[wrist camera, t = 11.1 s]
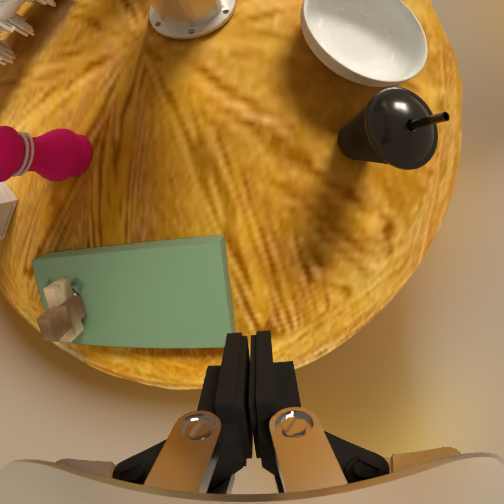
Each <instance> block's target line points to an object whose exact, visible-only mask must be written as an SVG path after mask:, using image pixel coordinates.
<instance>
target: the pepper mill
mask: <svg viewBox="0 0 504 504" xmlns="http://www.w3.org/2000/svg"><path fill="white" fill-rule="evenodd" d="M91 158H92V147H91V144H90V142H89V140H88V139H87V138H86V137H85V136H83V135H78V134H75V133H74V132H73V131H71V130H68V129H55V130H52V131H49V132H47V133H45V134H43V135H41V136H39V137H31V136H30V135H29V134H28V133H26V132H17V131H16V130H15V129H13V128H12V127H9V126H0V183H1V182H4V181H6V180H8V179H9V178H10V177H11V176H12V177H13V176H21V175H23V174H25V173H26V172H27V171H35V172H37V173H38V174H39V175H41V176H42V177H43V178H45V179H48V180H50V181H62V180H65V179H67V178H69V177H75V176H79V175H81V174H82V173H84V172H85V170H86V169H87V168H88V166H89V164H90V162H91Z"/></svg>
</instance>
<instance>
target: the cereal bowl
mask: <svg viewBox="0 0 504 504" xmlns="http://www.w3.org/2000/svg"><path fill="white" fill-rule="evenodd" d="M300 19H301V28H302V32H303V35H304V38H305V40H306V42H307V44H308V45H309V47H310V49H311V50H312V51H313V53H314V54H315V56H317V58H318V59H319V60H320V61H321V62H322V63H323V64H324V65H326V66H327V67H328V68H329V69H330V70H332V71H333V72H335V73H336V74H338V75H340V76H341V77H343V78H346V79H347V80H350V81H352V82H355V83H358V84H362V85H366V86H370V87H389V86H394V85H398V84H401V83H403V82H406V81H408V80H410V79H411V78H413V77H415V76H416V75H417V74H418V73H419V72H420V71H421V69H422V68H423V66H424V64H425V62H426V58H427V42H426V37H425V34H424V31H423V29H422V27H421V25H420V23H419V21H418V20H417V18H416V17H415V15H414V14H413V13H412V11H411V10H410V9H409V8H408V7H407V6H406V5H405V4H404V3H403V2H402V1H401V0H304V1H303V4H302V8H301V17H300Z"/></svg>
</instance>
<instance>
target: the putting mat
mask: <svg viewBox="0 0 504 504" xmlns="http://www.w3.org/2000/svg"><path fill="white" fill-rule="evenodd" d="M32 265H33V269H34V273H35V277H36V280H37V284H38V288H39V291H40V295H41V298H42V301H43V305H44V308H45V311H48V310H49V306H48V303H47V300H46V297H45V293H44V290H43V289H44V288H45V287H47V286H49V285H50V284H52V283H53V282H55V281H57V280H58V279H68V278H69V281H70V285H71V287H72V288H73V289H74V290H75V291H76V292H77V293H79V294H80V295H81V298H82V302H83V305H84V309H85V312H86V315H85V316H84V317H83V318H82V319H81V322H82V325H83V328H84V330H83V331H82V332H81V333H80V334H79V335H78V336H77V337H76V338H75V339H74V340H73V341H72V342H71V343H76V344H88V345H101V346H117V347H139V348H217V347H225V341H226V336H227V333H235V332H236V328H235V320H234V313H233V305H232V297H231V288H230V280H229V271H228V263H227V254H226V245H225V236H224V235H213V236H202V237H191V238H180V239H170V240H160V241H150V242H140V243H130V244H121V245H111V246H102V247H93V248H84V249H76V250H67V251H59V252H50V253H46V254H44V255H42V256H40V257H38V258H36V259H33V260H32ZM57 342H61V341H60V339H59V340H58V341H57ZM66 343H69V342H66Z"/></svg>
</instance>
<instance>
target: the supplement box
mask: <svg viewBox="0 0 504 504" xmlns="http://www.w3.org/2000/svg"><path fill="white" fill-rule="evenodd" d="M17 202H18V199H17V197H16V196H15V195H14V193H13V192H12V191H11V190H10V188H9V187H8V186H7V184H6V183H5V182H1V183H0V240H2V239H4V238H5V235H6V232H7V229H8V226H9V223H10V220H11V218H12V215H13V212H14V209H15V207H16V204H17Z"/></svg>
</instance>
